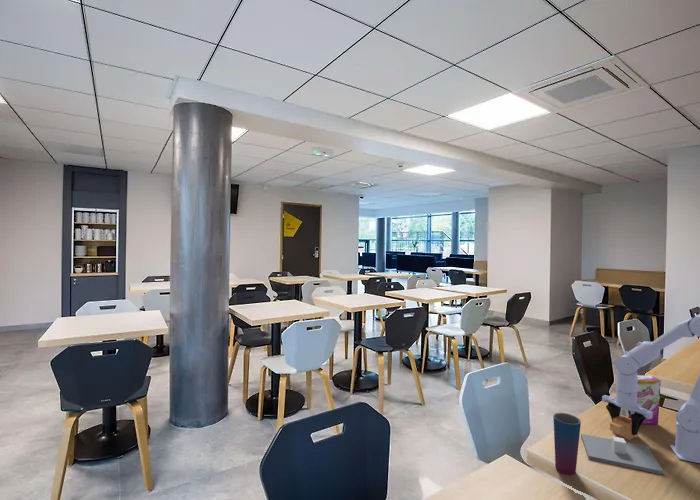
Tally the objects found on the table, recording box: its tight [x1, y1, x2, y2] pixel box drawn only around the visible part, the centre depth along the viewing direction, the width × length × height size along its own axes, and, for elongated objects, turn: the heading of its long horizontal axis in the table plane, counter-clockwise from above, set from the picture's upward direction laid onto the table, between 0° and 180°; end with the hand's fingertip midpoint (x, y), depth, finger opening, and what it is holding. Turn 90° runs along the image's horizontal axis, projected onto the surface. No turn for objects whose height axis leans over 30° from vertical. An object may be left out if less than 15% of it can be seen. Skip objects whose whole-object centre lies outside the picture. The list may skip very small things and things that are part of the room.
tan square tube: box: [609, 415, 639, 440], centre depth 127 cm, size 9×5×5 cm, turn 116°
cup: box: [553, 412, 582, 476], centre depth 107 cm, size 7×7×15 cm
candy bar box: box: [620, 374, 662, 425], centre depth 136 cm, size 11×5×16 cm, turn 92°
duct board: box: [580, 433, 664, 475], centre depth 116 cm, size 18×14×4 cm
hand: (625, 430), depth 127 cm, fingers closed on tan square tube, 5 cm apart
